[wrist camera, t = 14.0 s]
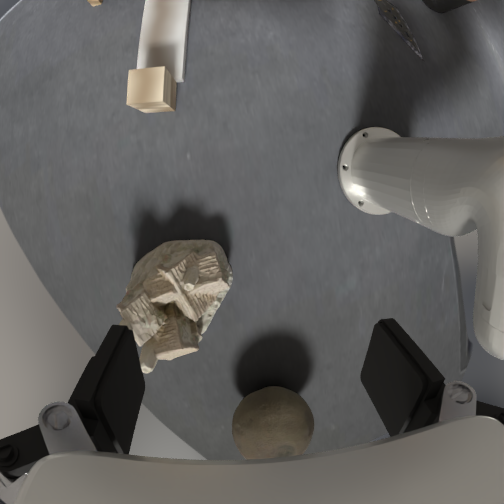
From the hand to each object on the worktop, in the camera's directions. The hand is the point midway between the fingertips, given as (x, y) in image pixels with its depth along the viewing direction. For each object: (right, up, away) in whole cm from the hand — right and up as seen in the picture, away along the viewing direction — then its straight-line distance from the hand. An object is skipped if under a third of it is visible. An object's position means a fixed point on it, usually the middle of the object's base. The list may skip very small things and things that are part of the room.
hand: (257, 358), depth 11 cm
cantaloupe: (+3, -22, +40) cm, 46 cm away
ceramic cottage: (-10, -2, +32) cm, 34 cm away
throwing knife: (+21, +41, +20) cm, 51 cm away
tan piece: (-12, +33, +20) cm, 40 cm away
